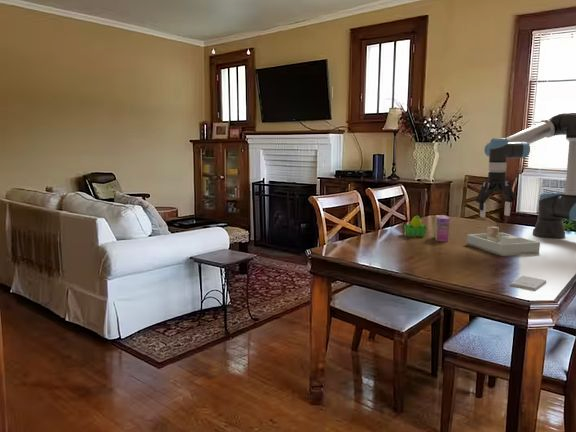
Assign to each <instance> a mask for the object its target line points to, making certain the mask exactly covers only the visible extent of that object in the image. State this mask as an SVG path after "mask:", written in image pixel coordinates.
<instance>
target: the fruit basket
mask: <svg viewBox="0 0 576 432" xmlns="http://www.w3.org/2000/svg"><path fill="white" fill-rule="evenodd" d="M410 220H411V221H410V224H403V227H404V230H405V231H404V233H405V235H406V237H416V236H420V238H424V237H425V235H426V231H427V230H428V227H427V226H426V225H423V224H422V220H421V218H420V216H419V215H415V216H413V217H412V219H410Z"/></svg>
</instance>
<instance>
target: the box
mask: <svg viewBox="0 0 576 432" xmlns="http://www.w3.org/2000/svg"><path fill="white" fill-rule="evenodd" d="M449 229H450V218H449V216H448V215H444V214H440V215H439V214H436V215H435V219H434V239H435V241H436V242H445V243H448V242H449Z"/></svg>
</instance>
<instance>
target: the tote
mask: <svg viewBox="0 0 576 432" xmlns="http://www.w3.org/2000/svg"><path fill="white" fill-rule="evenodd" d="M501 236H514V237H518V238H520V240H519V243H514V244H500V240H501ZM466 246H470V247H473V248H475V249H478V248H479V250H482V251H484V252H488V253H491V254H494V255H497V256H499V257H504V256H505V257H508V256H521V254H523V255H532V254H533V255H535V254H540V247H541V242H540V241H536V240H532V239H529V238H528V239H527V238H524V237H522V236H521V237H520V236H518V235H513V234H509V233H505V232H499V234H498V243H497V242H493V241H490V240H487V232H486V233H473V234H472V233H468V234H467V237H466Z"/></svg>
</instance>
